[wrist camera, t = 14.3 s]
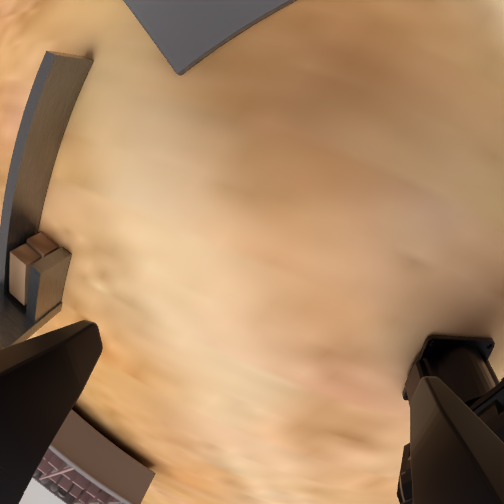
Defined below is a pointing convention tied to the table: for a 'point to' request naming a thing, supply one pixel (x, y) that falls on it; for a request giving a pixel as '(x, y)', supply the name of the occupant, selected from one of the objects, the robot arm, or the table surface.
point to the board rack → (37, 195)
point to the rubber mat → (198, 25)
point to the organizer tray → (90, 468)
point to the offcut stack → (27, 263)
